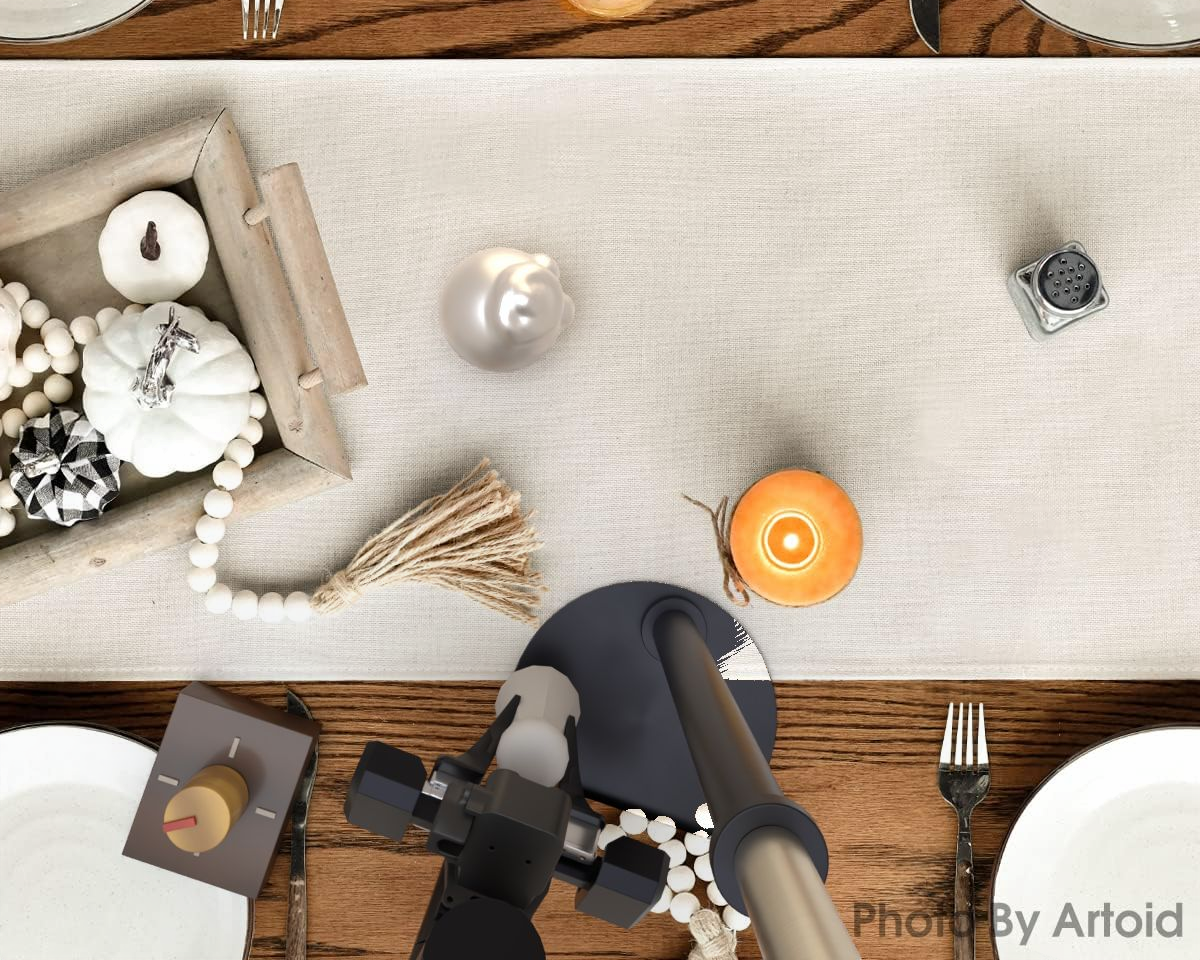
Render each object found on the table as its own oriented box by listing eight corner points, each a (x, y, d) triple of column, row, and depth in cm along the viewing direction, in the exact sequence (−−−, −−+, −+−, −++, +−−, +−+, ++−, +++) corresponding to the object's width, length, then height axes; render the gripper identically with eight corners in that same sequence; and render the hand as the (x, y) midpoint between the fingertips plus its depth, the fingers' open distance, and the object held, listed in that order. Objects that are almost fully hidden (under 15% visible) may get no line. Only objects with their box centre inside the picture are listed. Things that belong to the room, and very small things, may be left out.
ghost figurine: (554, 389, 78) (552, 389, 68) (432, 355, 78) (411, 350, 68) (587, 273, 78) (589, 256, 68) (465, 238, 78) (450, 217, 68)
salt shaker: (493, 662, 74) (476, 718, 61) (574, 652, 74) (574, 705, 61) (503, 746, 73) (488, 819, 60) (584, 735, 73) (586, 806, 61)
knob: (242, 758, 74) (221, 781, 69) (254, 820, 73) (234, 847, 69) (180, 772, 73) (155, 796, 69) (192, 834, 73) (168, 861, 69)
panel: (268, 880, 76) (255, 901, 73) (138, 836, 76) (119, 856, 73) (323, 723, 77) (313, 738, 74) (194, 679, 77) (178, 692, 73)
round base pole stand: (725, 888, 77) (1001, 1797, 27) (469, 802, 77) (278, 1561, 27) (811, 631, 78) (1233, 1060, 28) (558, 544, 78) (531, 822, 28)
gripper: (676, 984, 50) (724, 701, 62) (313, 845, 50) (429, 587, 61) (610, 1041, 58) (664, 779, 69) (294, 921, 57) (401, 678, 69)
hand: (544, 707), depth 67 cm, fingers closed on salt shaker, 3 cm apart
